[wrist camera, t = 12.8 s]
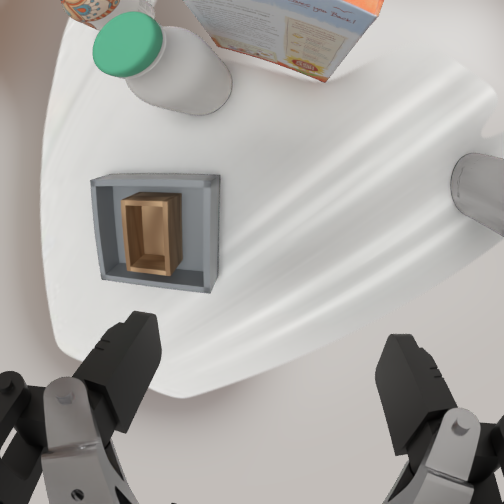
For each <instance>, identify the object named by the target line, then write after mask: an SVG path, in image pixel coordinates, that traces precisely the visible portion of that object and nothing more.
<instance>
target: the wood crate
mask: <svg viewBox="0 0 504 504" xmlns="http://www.w3.org/2000/svg"><path fill="white" fill-rule="evenodd" d="M121 214H122V228H123V239H124V249H125V259H126V267H127V271H133V272H141V273H149V274H157V275H165V276H171V275H172V273H173V272H174V271H175V269H176V268H177V267H178V265H179V264H180V263H181V261H182V260H183V250H182V193H163V192H138V193H135V194H133V195H131V196H129V197H126V198H124V199H122V200H121Z"/></svg>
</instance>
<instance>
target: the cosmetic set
mask: <svg viewBox="0 0 504 504" xmlns="http://www.w3.org/2000/svg"><path fill="white" fill-rule="evenodd" d="M61 4H62V7H63V9H64V11H65V12H66V14H67V15H68V16H70V17H71V18H72V19H74V20H76V21H78V22H81V23H83V24H85V25H88V26H90V27H92V28H95V29H97V30H99V31H100V30H101V29H102V28H103V27H104V26H105V24H107V23H108V22H109V21H110V20H111V19H113V18H114V17H116V16H118V15H120V14H122V13H126V12H132V11H135V12H142V13H145V14H147V15H148V16H150V17H151V18H153V19H154V20H155V11H154V9H153V7H152V6H151V5H150V4H149V3H148V2H147V1H145V0H61Z"/></svg>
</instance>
